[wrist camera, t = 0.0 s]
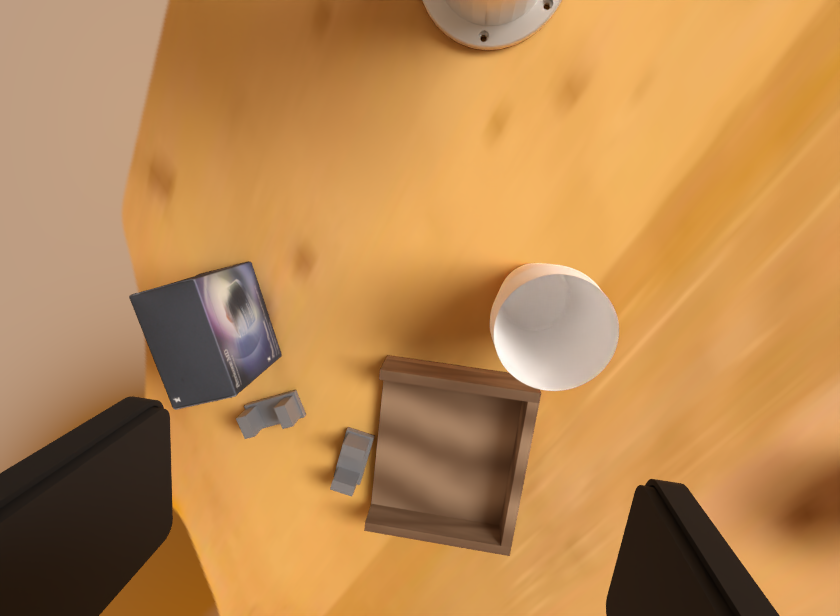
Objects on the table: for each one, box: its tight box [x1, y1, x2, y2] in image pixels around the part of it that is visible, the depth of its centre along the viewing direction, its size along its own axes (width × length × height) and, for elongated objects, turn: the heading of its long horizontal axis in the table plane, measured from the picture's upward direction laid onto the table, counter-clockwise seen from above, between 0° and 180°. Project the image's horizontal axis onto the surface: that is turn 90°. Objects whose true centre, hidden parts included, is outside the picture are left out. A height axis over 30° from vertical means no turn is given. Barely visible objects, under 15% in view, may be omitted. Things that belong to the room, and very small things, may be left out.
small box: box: [130, 262, 282, 410], centre depth 44 cm, size 11×6×10 cm, turn 15°
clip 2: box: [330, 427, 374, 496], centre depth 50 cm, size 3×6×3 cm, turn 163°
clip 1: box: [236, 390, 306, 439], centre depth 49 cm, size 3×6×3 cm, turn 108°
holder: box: [364, 355, 541, 556], centre depth 48 cm, size 18×15×4 cm
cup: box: [490, 263, 619, 391], centre depth 39 cm, size 9×9×12 cm
